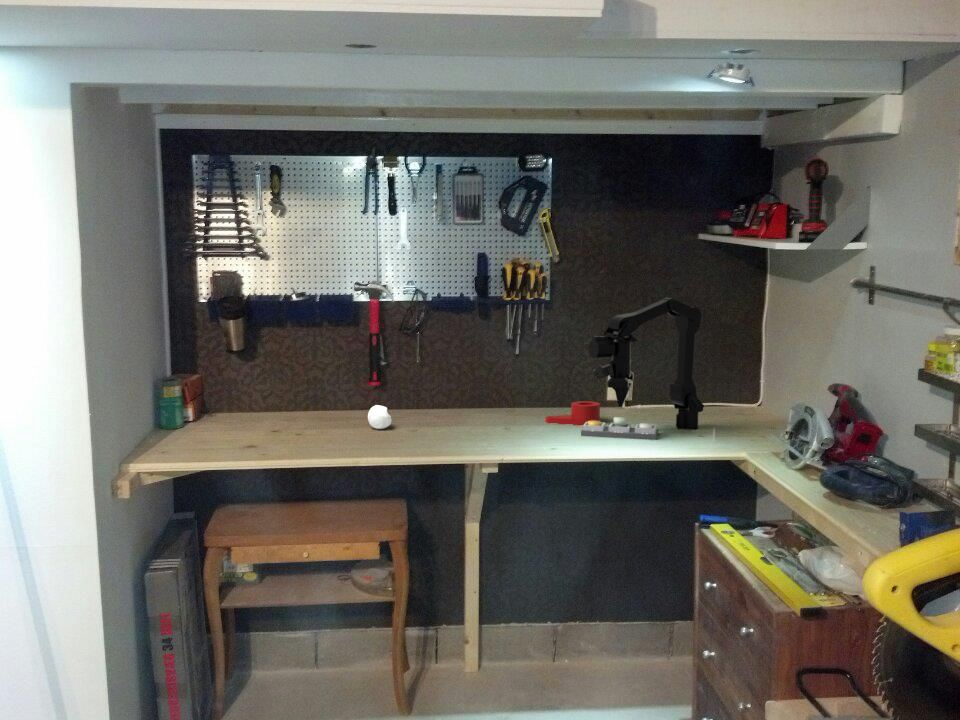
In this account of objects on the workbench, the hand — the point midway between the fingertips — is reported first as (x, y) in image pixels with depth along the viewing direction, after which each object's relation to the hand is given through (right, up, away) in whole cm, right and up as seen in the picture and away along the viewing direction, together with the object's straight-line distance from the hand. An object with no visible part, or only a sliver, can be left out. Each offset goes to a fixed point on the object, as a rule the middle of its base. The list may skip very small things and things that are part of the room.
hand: (620, 406), depth 290 cm
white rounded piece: (-76, -8, +11) cm, 77 cm away
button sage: (0, -6, +1) cm, 6 cm away
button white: (+8, -7, -1) cm, 11 cm away
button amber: (-8, -7, +3) cm, 11 cm away
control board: (0, -9, +1) cm, 9 cm away
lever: (-13, -7, +20) cm, 25 cm away
